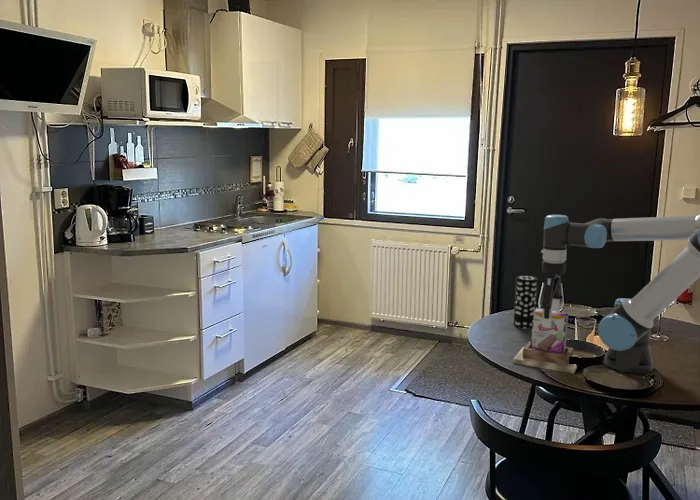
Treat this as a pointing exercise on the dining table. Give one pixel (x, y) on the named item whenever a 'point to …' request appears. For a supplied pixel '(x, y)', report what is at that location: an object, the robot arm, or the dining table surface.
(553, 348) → the candy bar box
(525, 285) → the white-spotted black cylinder
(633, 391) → the dining table surface
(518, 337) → the dining table surface
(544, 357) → the stand
